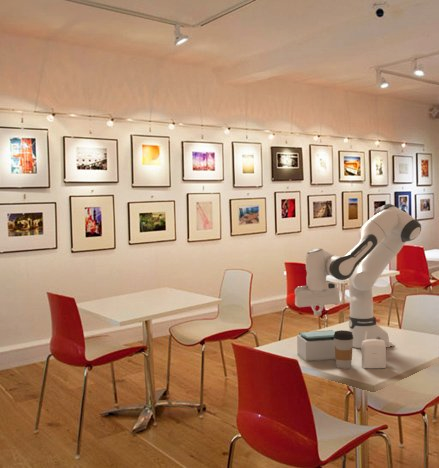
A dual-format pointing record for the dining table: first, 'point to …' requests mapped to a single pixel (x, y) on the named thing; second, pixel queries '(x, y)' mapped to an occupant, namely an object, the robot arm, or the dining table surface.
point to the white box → (316, 348)
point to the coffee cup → (343, 348)
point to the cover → (318, 334)
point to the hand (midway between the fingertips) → (317, 315)
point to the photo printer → (373, 353)
